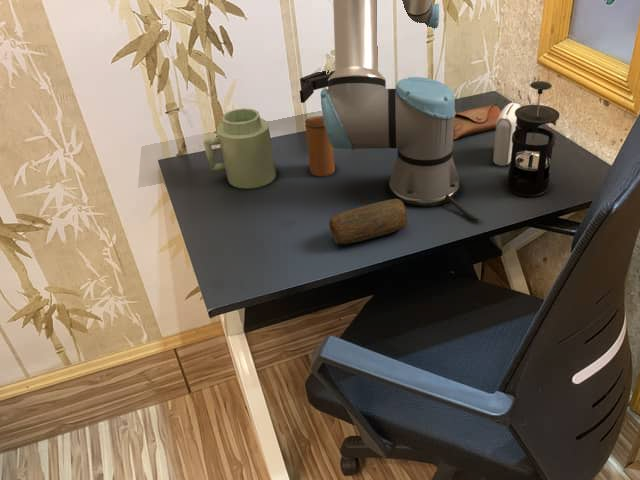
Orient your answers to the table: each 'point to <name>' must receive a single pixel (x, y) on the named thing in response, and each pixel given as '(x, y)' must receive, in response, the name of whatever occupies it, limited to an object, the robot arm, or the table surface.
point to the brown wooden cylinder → (368, 221)
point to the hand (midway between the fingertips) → (329, 99)
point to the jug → (243, 149)
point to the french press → (532, 148)
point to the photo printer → (505, 134)
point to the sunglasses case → (475, 121)
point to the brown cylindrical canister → (319, 147)
